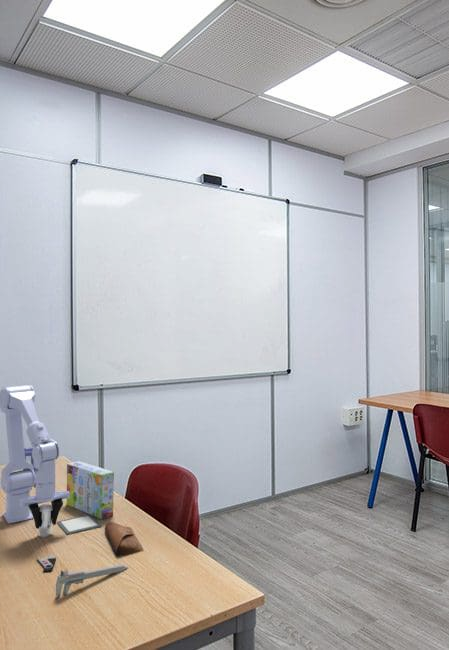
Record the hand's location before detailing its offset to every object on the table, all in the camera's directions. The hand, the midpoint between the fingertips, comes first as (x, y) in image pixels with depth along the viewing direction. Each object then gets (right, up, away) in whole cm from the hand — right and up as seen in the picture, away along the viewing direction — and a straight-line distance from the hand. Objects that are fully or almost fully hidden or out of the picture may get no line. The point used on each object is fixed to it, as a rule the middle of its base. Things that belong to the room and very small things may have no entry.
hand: (45, 525), depth 155 cm
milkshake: (0, -3, 0) cm, 3 cm away
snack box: (+8, -3, +21) cm, 22 cm away
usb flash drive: (+6, -4, -19) cm, 20 cm away
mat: (+8, -3, +8) cm, 12 cm away
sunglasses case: (+25, -4, -4) cm, 26 cm away
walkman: (-26, -2, +58) cm, 64 cm away
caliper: (+22, -4, -27) cm, 35 cm away
